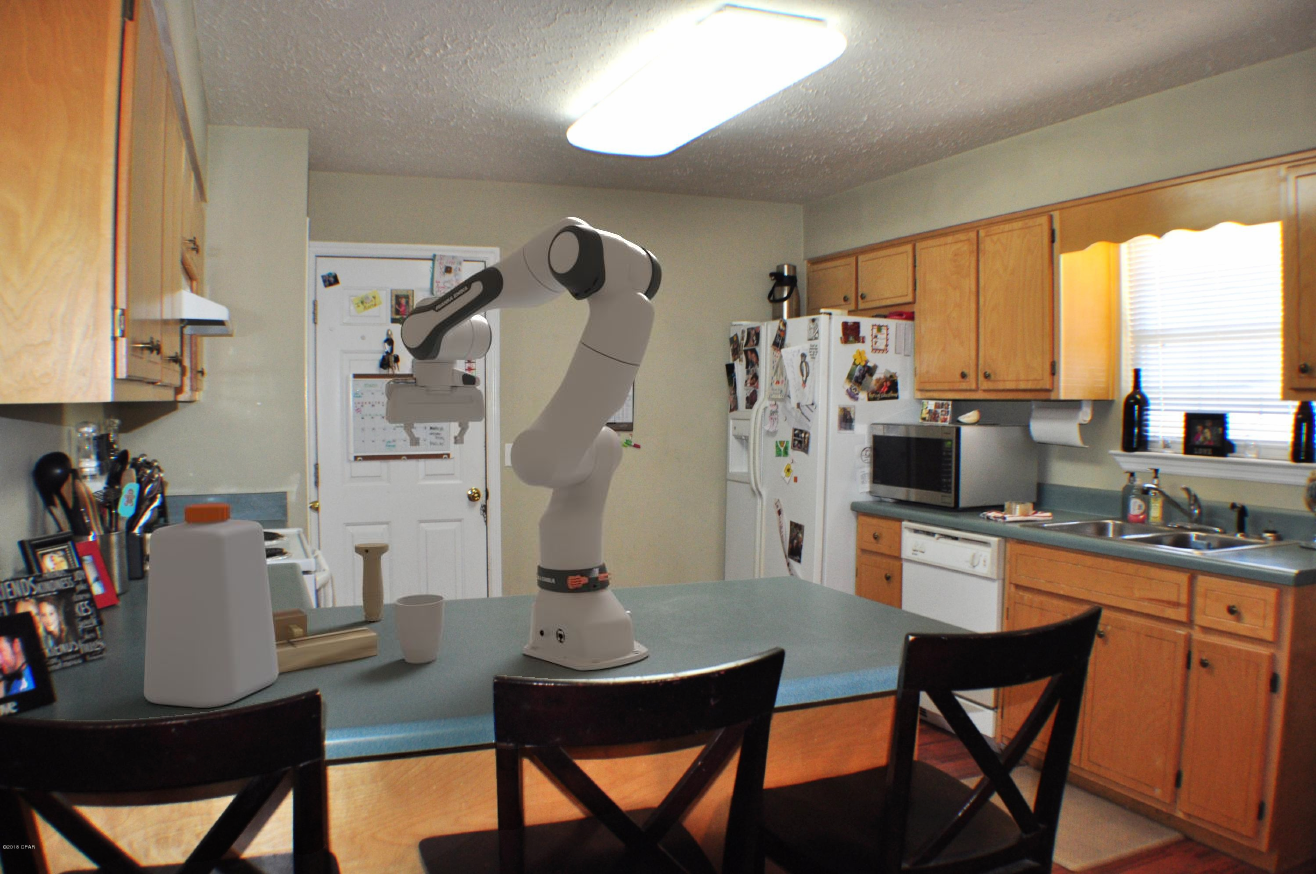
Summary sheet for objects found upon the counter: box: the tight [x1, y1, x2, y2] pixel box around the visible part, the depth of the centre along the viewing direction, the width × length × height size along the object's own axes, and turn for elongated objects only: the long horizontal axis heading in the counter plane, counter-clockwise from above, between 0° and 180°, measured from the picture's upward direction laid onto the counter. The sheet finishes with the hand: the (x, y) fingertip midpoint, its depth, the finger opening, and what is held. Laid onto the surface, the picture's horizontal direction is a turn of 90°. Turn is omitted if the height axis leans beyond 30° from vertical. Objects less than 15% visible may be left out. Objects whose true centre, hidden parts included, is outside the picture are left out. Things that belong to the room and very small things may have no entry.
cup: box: [393, 593, 446, 664], centre depth 142 cm, size 8×8×10 cm
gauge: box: [272, 607, 309, 642], centre depth 144 cm, size 11×5×7 cm, turn 36°
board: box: [275, 626, 379, 674], centre depth 143 cm, size 6×16×4 cm, turn 126°
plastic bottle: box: [143, 502, 280, 709], centre depth 127 cm, size 15×15×28 cm
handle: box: [354, 542, 390, 623], centre depth 168 cm, size 5×6×15 cm
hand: (437, 445), depth 175 cm, fingers open, 8 cm apart
